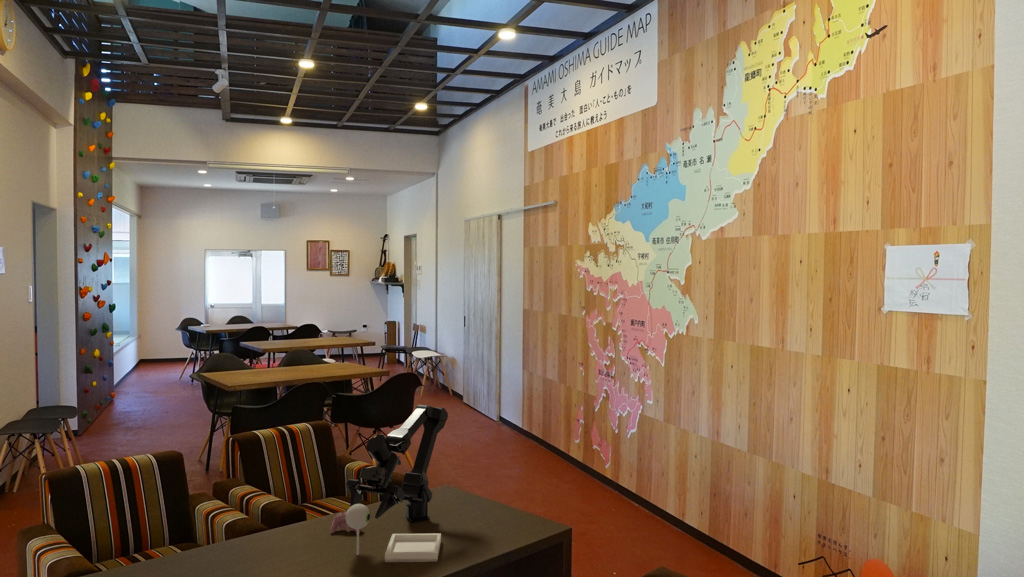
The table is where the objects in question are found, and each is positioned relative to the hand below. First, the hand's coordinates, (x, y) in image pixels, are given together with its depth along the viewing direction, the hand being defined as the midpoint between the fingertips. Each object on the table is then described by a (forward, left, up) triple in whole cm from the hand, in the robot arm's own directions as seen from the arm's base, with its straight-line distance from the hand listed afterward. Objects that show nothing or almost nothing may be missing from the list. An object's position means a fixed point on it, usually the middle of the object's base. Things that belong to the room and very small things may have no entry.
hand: (363, 516), depth 200 cm
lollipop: (+2, +2, -11) cm, 11 cm away
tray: (-13, +7, -11) cm, 19 cm away
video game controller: (0, -18, -11) cm, 21 cm away
